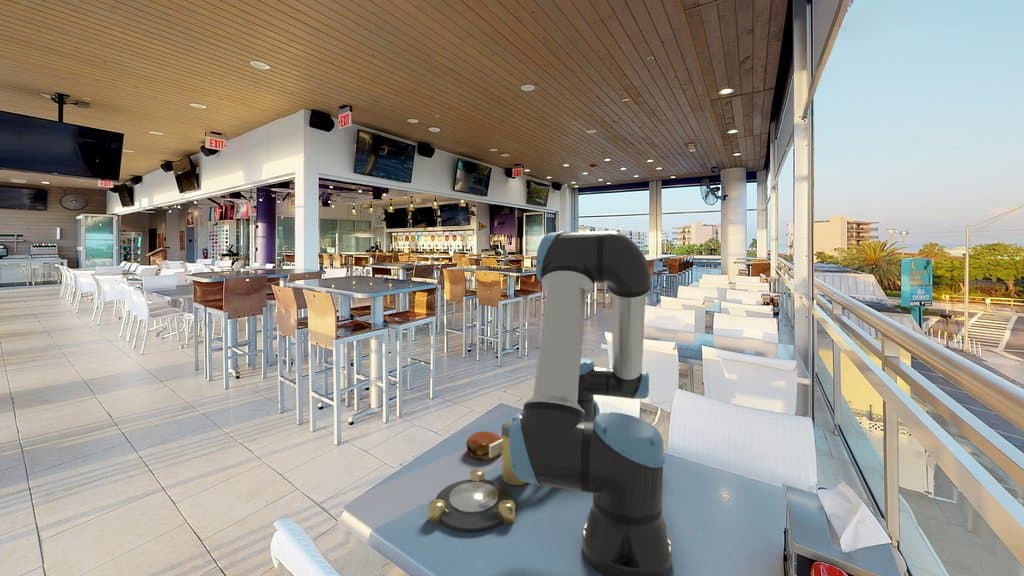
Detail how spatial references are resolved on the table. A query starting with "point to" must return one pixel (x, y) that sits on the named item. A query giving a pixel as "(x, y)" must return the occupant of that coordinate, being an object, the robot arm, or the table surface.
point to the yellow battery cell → (508, 458)
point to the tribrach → (473, 504)
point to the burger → (481, 444)
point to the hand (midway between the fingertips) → (501, 456)
